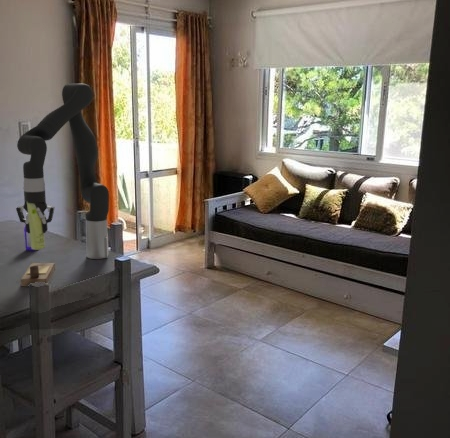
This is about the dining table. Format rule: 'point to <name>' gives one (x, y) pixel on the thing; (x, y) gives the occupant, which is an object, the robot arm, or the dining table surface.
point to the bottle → (27, 239)
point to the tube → (35, 228)
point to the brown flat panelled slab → (38, 273)
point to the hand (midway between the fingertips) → (37, 232)
